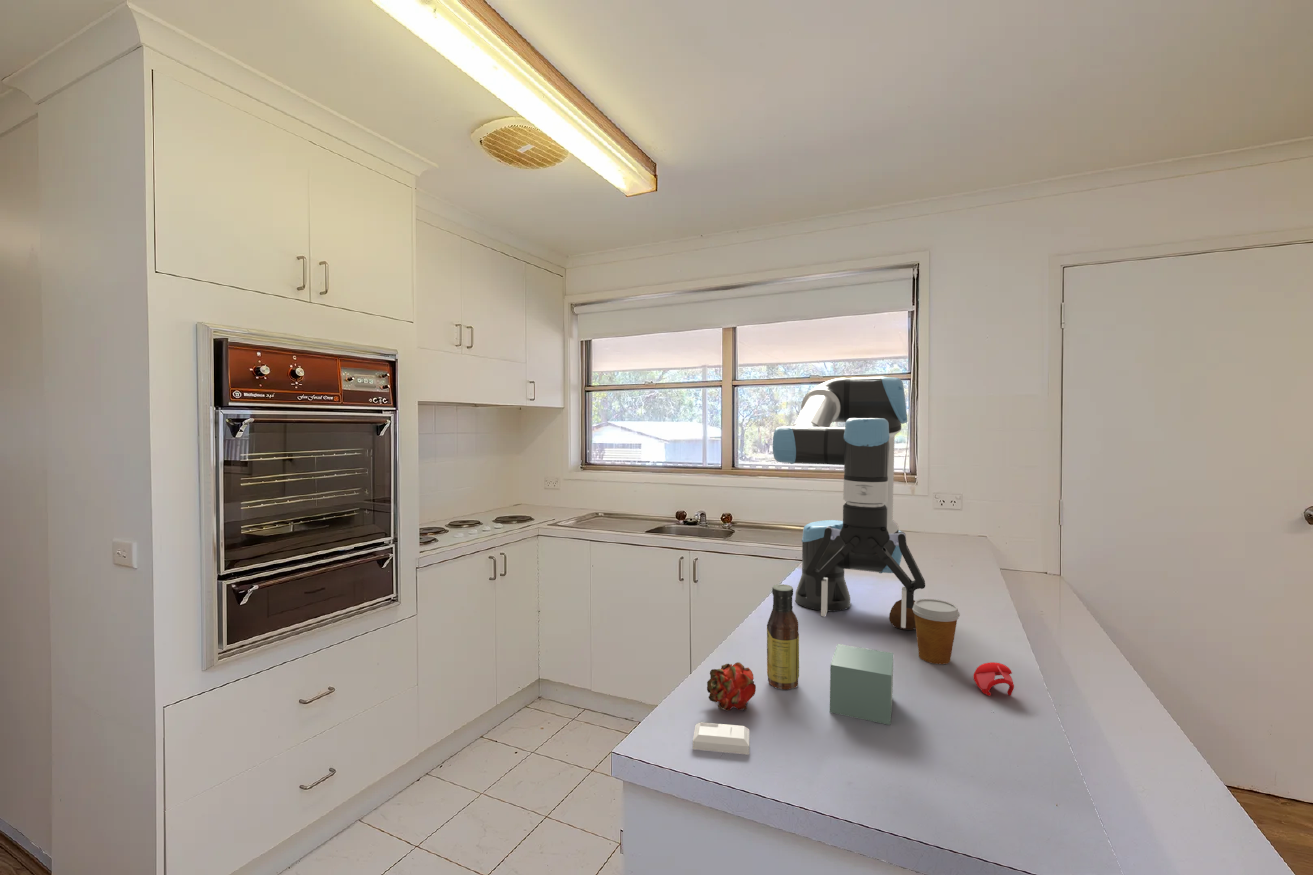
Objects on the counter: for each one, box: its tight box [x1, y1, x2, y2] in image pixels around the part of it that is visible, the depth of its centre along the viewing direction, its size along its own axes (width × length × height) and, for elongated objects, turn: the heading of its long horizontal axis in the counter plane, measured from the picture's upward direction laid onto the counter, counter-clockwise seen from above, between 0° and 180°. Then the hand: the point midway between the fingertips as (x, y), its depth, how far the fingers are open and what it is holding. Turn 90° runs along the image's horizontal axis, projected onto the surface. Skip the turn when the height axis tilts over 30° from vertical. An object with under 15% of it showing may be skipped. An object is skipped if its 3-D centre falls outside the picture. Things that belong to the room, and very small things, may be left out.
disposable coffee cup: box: [912, 598, 961, 665], centre depth 127 cm, size 10×10×12 cm
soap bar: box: [692, 722, 750, 756], centre depth 94 cm, size 5×9×3 cm, turn 81°
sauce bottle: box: [766, 584, 800, 691], centre depth 114 cm, size 7×6×20 cm
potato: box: [888, 598, 916, 631], centre depth 143 cm, size 7×10×8 cm
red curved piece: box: [972, 662, 1015, 697], centre depth 112 cm, size 8×6×6 cm
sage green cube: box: [829, 643, 894, 726], centre depth 106 cm, size 10×10×9 cm
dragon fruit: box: [706, 661, 757, 712], centre depth 106 cm, size 8×8×12 cm
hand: (862, 619), depth 104 cm, fingers open, 13 cm apart
